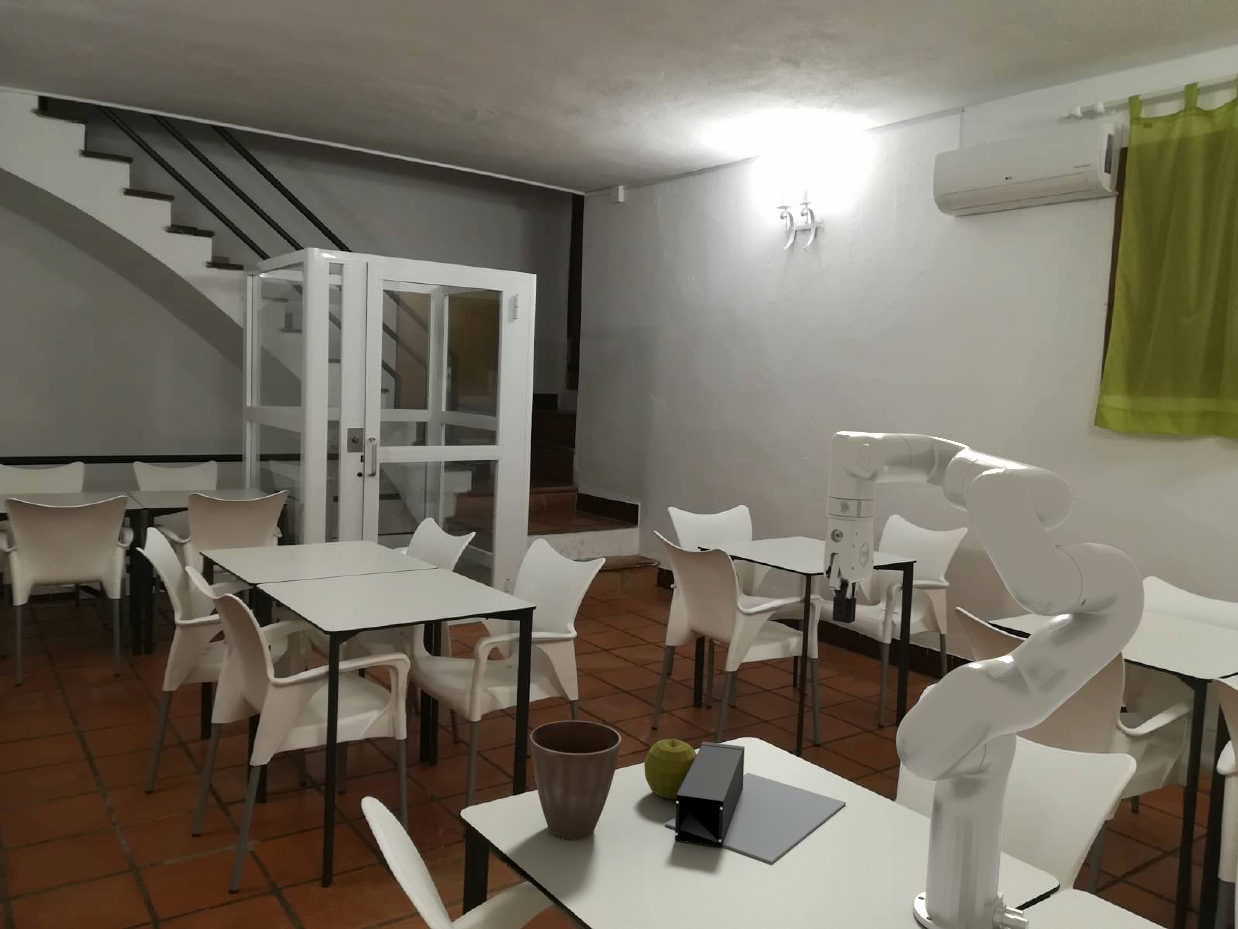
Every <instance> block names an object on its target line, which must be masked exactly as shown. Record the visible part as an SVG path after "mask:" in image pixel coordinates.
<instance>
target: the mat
mask: <svg viewBox="0 0 1238 929" xmlns="http://www.w3.org/2000/svg"><path fill="white" fill-rule="evenodd" d="M845 804H846V805H847V802H846V801H843V800H840V799H836V798H834V797H829V796H826V795H823V794H820V793H816V792H813V791H810V790H807V789H803V788H801V787H800V788H799V787H796V786H793V785H790V784H788V783H787V784H786V783H784V782H783V783H782V782H780V781H777V780H773V779H770V778H766V777H763V776H760V775H757V774H754V773H751V772H747V773H744V774H743V789H742V791H741V794H740V797H739V799H738V802H737V805H736V808H735V811H734V814H733V817H732V820H731V822H730V825H729V828H728V831H727V834H726V837H725V840H724V842H723V846H722V847H723V848H726V849H729V850H732V851H735V852H737V853H740V854H743V855H746V856H749V857H752V858H753V859H754V858H755V859H757V860H760V861H763V862H765V863H768V864H771V865H772V864H773V863H775V862H777V860H778V859H779V858H781V857H782V856H783V855H785V854H786V853H787V852H788V851H790V850H791V849H792V848H793V847H795V846H796V845H797V844H798V843H800V842H801V841H802V840H804V839H805V838H806V837H807V836H808V835H810V834H812V832H813V831H815V830H816V829H817V828H819V827H820V826H821V825H822V824H823V823H824V822H826V821H827V820H828V819H829V818H831V817H832V816H834V815H835V814H836V813H837V812H839V811H840V810H841V809H842V808H843V807H845V806H846V805H845ZM840 808H841V809H840ZM675 821H676V816H674V817H673V818H672V819H670V820H668V821H666V822H665V823H664V826H665V827H667V828H670V829H673V830H675ZM680 829H681V830H684V831H687V832H690V833H693V834H696V835H698V836H701V837H704V838H707V839H710V840H713V841H716V842H718V840H717V839H716V838H715V837H714V836H713V835H712V834H711V833H710V832H709V831H708V830H707V829H706V828H705V827H704V826H703V825H702V824H701V823H700V822H699V821H698V820H697V819H696V818H695V817H694V816H693V815H692V814H691V813H690V812H689V811H688V813H687V815H686V817H685V819H684V822H683V824H682V826H681V828H680Z"/></svg>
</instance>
